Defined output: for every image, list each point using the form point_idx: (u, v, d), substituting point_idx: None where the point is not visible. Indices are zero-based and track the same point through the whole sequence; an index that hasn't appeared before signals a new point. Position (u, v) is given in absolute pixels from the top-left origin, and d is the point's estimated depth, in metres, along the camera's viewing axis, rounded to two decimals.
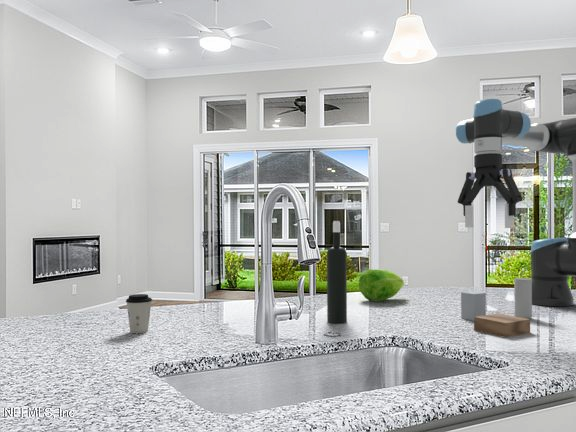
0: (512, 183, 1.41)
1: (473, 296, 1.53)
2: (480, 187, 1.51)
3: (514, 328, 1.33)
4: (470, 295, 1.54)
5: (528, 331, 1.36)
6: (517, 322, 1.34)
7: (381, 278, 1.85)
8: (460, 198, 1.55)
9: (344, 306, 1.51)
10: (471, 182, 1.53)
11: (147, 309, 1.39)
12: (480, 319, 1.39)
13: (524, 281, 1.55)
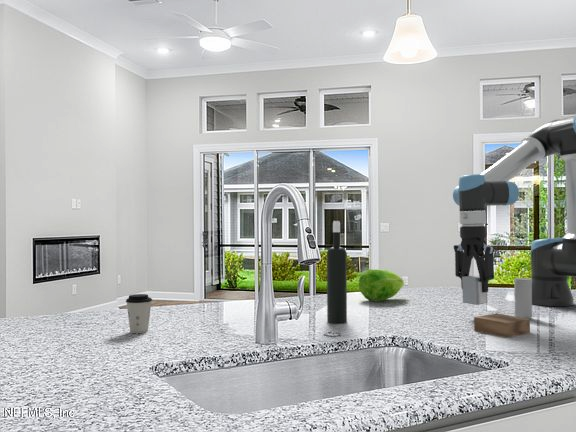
0: (490, 262, 1.51)
1: (474, 280, 1.54)
2: (470, 257, 1.58)
3: (515, 328, 1.34)
4: (471, 279, 1.54)
5: (528, 331, 1.37)
6: (518, 322, 1.34)
7: (381, 278, 1.85)
8: (457, 271, 1.61)
9: (344, 306, 1.51)
10: (461, 253, 1.61)
11: (147, 309, 1.39)
12: (480, 319, 1.38)
13: (524, 281, 1.55)
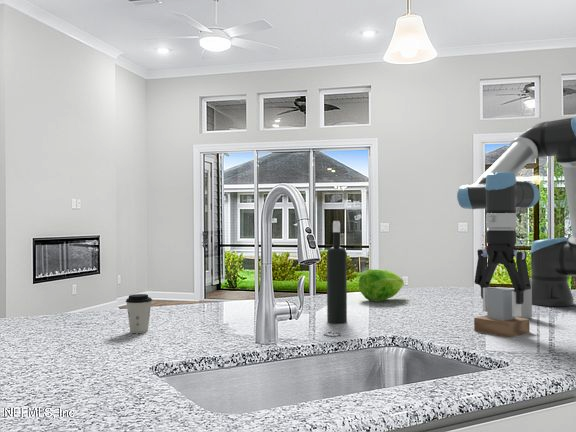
0: (524, 269, 1.33)
1: (501, 292, 1.36)
2: (495, 265, 1.41)
3: (515, 328, 1.34)
4: (498, 291, 1.37)
5: (528, 331, 1.37)
6: (518, 322, 1.34)
7: (381, 278, 1.85)
8: (476, 278, 1.44)
9: (344, 306, 1.51)
10: (484, 259, 1.44)
11: (147, 309, 1.39)
12: (481, 320, 1.38)
13: None
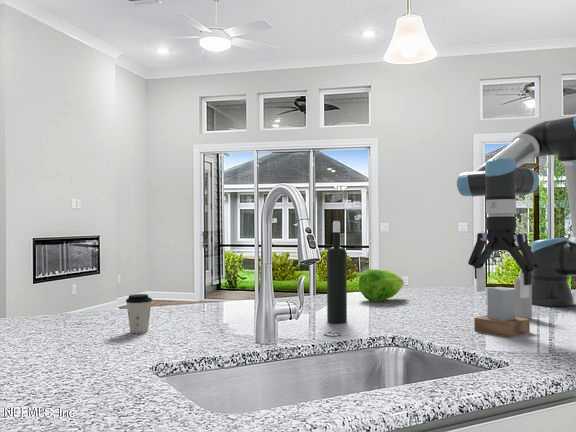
0: (528, 250, 1.32)
1: (501, 293, 1.35)
2: (492, 250, 1.42)
3: (516, 328, 1.34)
4: (498, 291, 1.36)
5: (528, 331, 1.37)
6: (519, 322, 1.34)
7: (381, 278, 1.85)
8: (471, 260, 1.46)
9: (344, 306, 1.51)
10: (483, 243, 1.44)
11: (147, 309, 1.39)
12: (481, 320, 1.38)
13: None
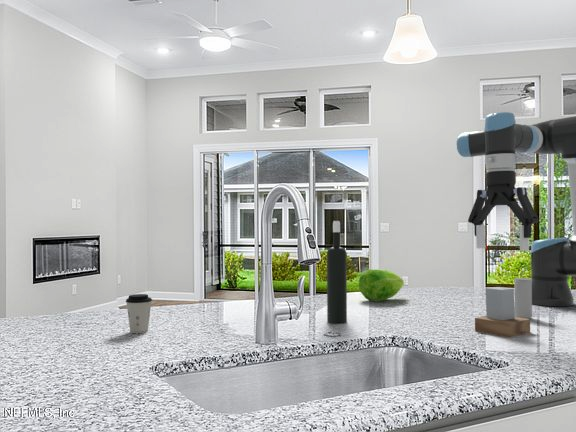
0: (528, 203, 1.32)
1: (500, 292, 1.36)
2: (492, 206, 1.42)
3: (516, 328, 1.33)
4: (496, 291, 1.37)
5: (528, 331, 1.37)
6: (519, 322, 1.34)
7: (381, 278, 1.85)
8: (471, 217, 1.46)
9: (344, 306, 1.51)
10: (482, 200, 1.44)
11: (147, 309, 1.39)
12: (481, 320, 1.38)
13: (524, 281, 1.55)
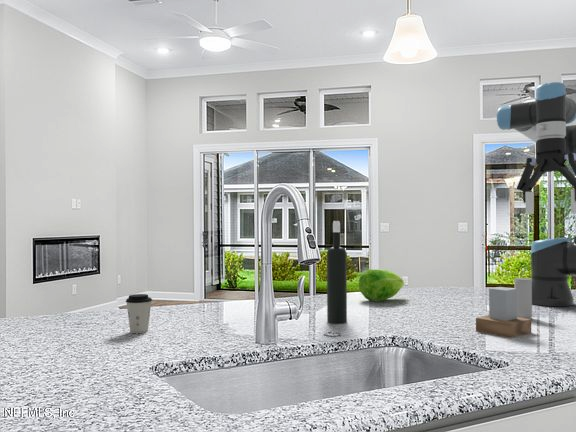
0: None
1: (504, 293, 1.35)
2: (542, 173, 1.48)
3: (517, 328, 1.33)
4: (501, 291, 1.36)
5: (529, 331, 1.37)
6: (520, 322, 1.34)
7: (381, 278, 1.85)
8: (520, 184, 1.52)
9: (344, 306, 1.51)
10: (531, 168, 1.51)
11: (147, 309, 1.39)
12: (482, 320, 1.38)
13: (524, 281, 1.55)
